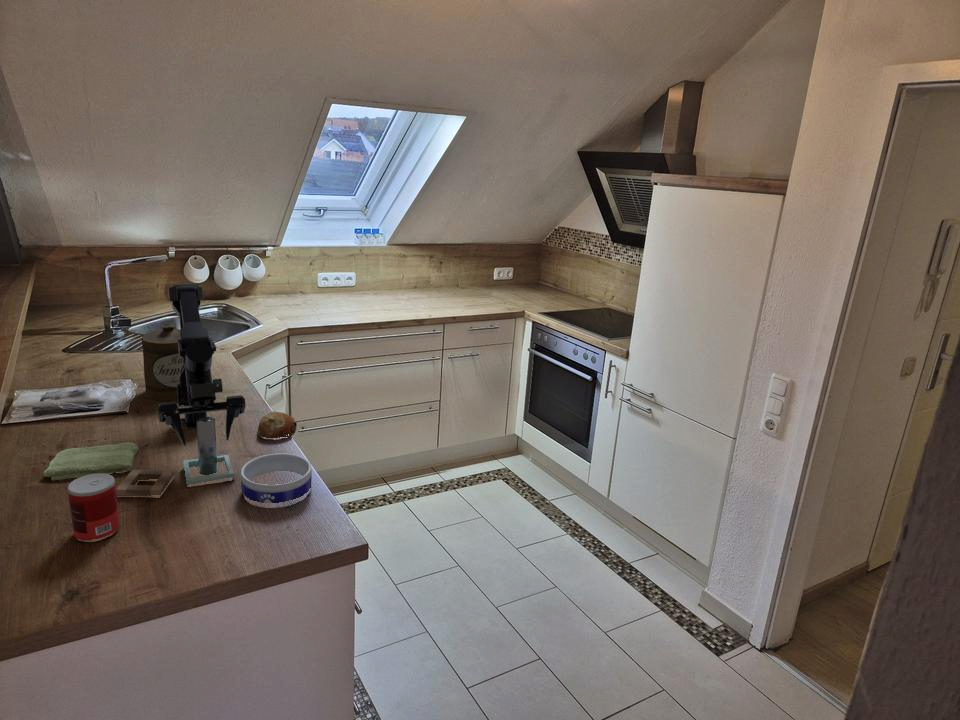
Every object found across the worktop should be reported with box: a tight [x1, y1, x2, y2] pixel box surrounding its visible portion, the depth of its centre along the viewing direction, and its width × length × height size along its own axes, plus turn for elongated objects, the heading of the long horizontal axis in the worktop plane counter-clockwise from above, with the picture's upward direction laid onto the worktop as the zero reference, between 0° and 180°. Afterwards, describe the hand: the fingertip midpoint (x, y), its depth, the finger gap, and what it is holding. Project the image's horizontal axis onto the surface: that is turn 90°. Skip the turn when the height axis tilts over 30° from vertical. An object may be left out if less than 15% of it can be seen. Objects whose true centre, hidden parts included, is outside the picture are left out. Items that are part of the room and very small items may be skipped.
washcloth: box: [43, 441, 139, 481], centre depth 150 cm, size 13×18×3 cm
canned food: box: [67, 473, 121, 540], centre depth 125 cm, size 8×8×11 cm
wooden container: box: [141, 322, 184, 402], centre depth 192 cm, size 15×15×22 cm
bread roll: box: [257, 410, 298, 438], centre depth 174 cm, size 10×10×8 cm
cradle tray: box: [182, 454, 235, 485], centre depth 150 cm, size 10×10×2 cm
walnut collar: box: [116, 469, 175, 496], centre depth 143 cm, size 9×9×2 cm
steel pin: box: [195, 416, 218, 475], centre depth 149 cm, size 4×4×13 cm
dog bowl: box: [240, 452, 313, 503], centre depth 145 cm, size 15×15×6 cm
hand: (206, 442), depth 149 cm, fingers open, 9 cm apart
